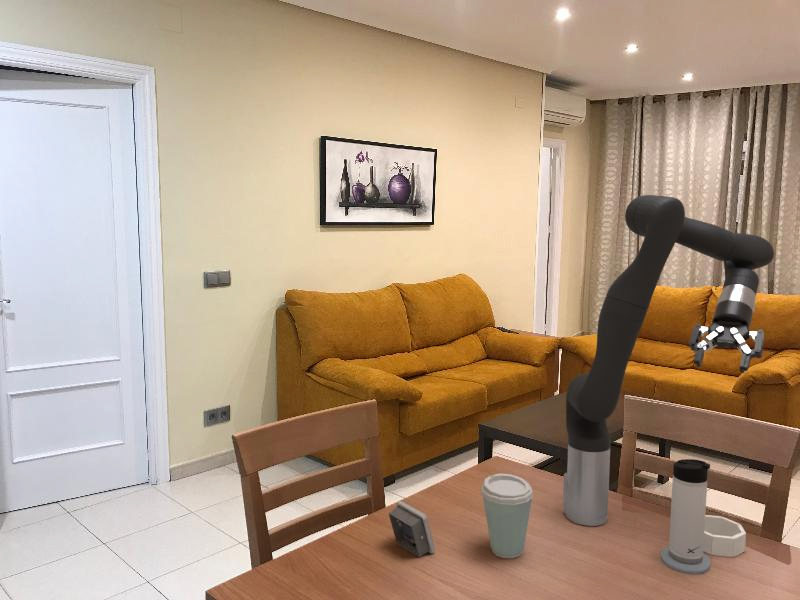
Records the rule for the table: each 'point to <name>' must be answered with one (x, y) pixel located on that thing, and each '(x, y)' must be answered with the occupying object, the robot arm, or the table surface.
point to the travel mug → (688, 510)
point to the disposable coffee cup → (507, 513)
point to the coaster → (683, 567)
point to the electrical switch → (411, 529)
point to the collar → (723, 537)
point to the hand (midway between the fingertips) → (719, 367)
